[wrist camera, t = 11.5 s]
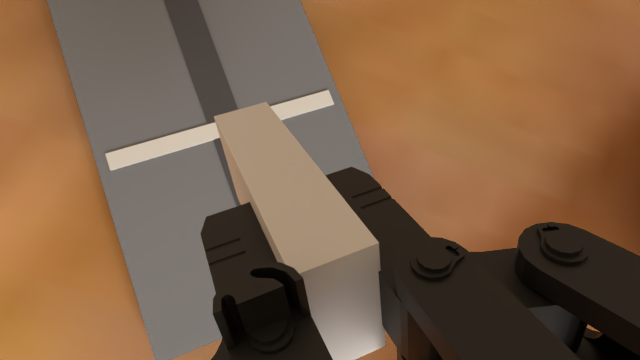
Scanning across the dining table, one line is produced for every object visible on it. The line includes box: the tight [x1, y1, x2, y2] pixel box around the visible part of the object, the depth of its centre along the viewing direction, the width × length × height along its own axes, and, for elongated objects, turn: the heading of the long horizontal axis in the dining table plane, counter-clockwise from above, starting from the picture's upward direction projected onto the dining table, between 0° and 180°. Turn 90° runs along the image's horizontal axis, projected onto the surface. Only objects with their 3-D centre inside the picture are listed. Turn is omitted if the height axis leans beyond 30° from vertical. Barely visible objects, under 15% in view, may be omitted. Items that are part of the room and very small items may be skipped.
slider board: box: [47, 0, 374, 360], centre depth 23 cm, size 32×12×2 cm, turn 21°
